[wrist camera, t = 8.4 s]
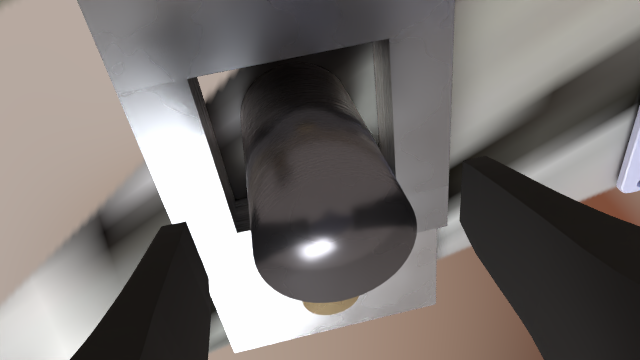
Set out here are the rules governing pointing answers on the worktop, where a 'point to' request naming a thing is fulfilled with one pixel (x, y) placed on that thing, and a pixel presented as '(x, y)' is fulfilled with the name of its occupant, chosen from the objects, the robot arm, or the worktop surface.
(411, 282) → the lower end link
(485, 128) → the worktop surface
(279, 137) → the pin
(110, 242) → the worktop surface
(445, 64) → the upper end link
